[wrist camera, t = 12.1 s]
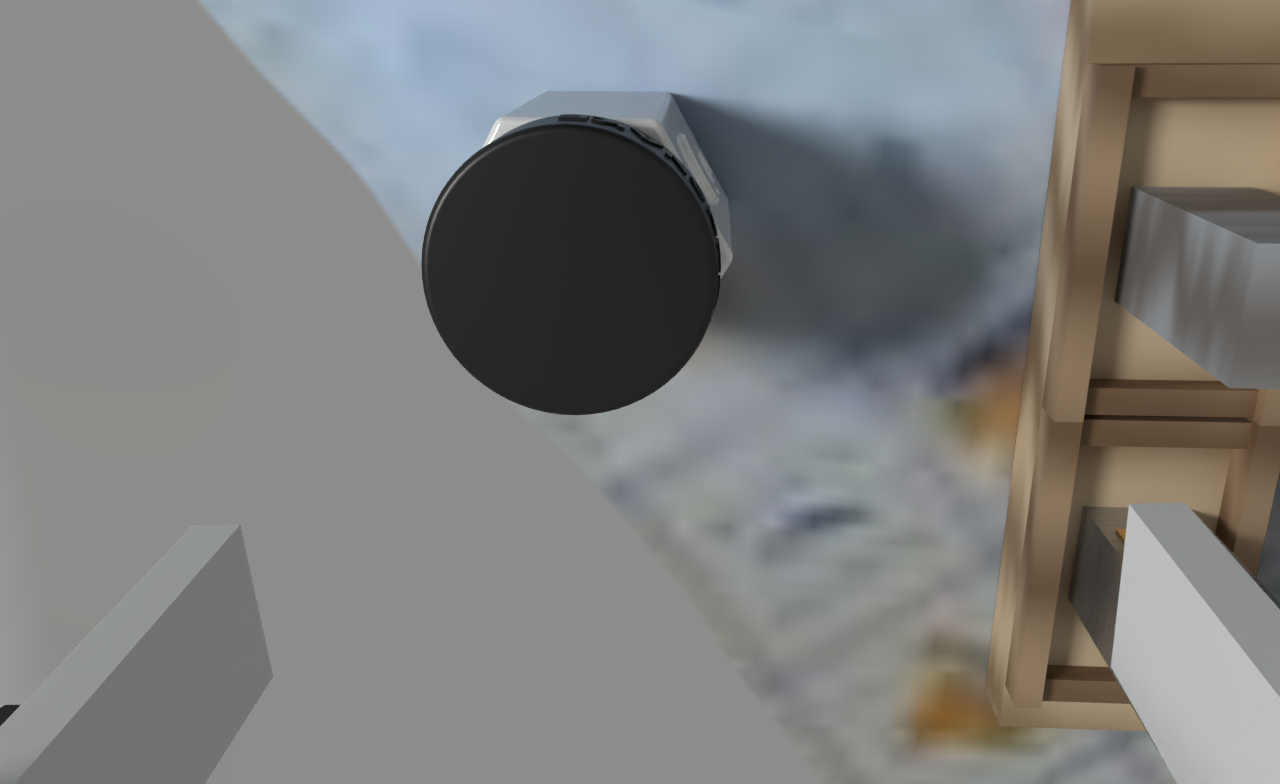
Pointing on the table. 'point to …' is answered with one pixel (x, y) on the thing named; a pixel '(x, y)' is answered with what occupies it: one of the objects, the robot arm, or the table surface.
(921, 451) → the table surface
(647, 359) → the jar
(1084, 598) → the grey rectangular prism
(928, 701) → the table surface
